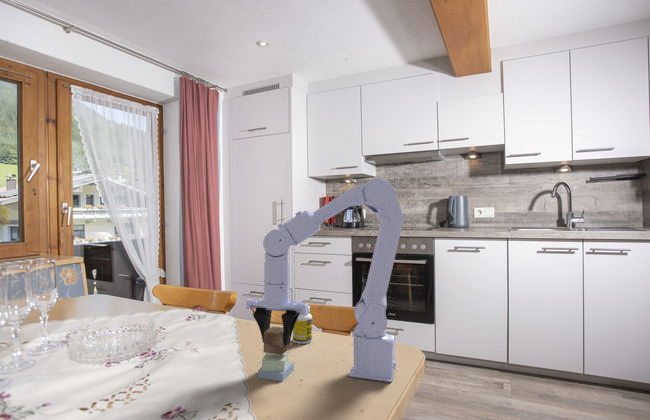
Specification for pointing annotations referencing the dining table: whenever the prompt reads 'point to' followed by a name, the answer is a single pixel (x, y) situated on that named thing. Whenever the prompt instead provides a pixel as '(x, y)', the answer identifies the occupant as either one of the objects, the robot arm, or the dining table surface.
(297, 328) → the supplement bottle
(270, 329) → the walnut cube
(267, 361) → the sage block
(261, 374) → the slate slab
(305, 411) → the dining table surface
